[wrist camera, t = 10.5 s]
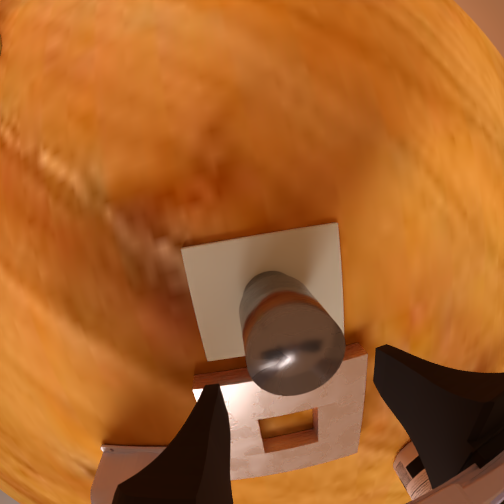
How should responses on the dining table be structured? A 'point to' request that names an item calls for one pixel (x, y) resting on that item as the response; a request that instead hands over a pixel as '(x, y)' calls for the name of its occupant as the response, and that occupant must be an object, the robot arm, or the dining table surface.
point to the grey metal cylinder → (288, 336)
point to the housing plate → (270, 405)
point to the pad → (251, 264)
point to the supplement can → (412, 471)
